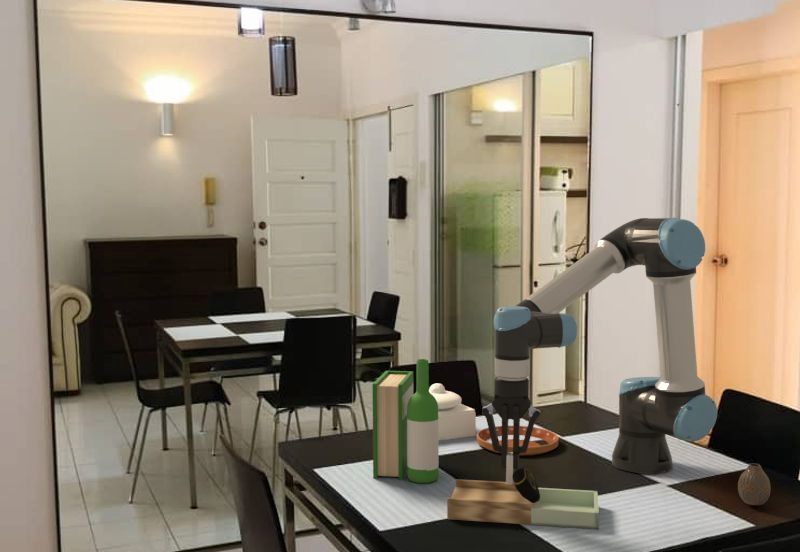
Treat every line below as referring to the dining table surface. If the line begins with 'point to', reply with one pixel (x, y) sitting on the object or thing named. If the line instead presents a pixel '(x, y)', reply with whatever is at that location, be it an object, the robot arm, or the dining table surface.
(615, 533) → the dining table surface
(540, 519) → the tray
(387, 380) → the hardback book
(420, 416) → the wine bottle
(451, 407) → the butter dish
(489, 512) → the wooden tray
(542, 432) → the saucer
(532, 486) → the tape measure
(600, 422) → the dining table surface
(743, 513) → the dining table surface
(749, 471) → the vase
